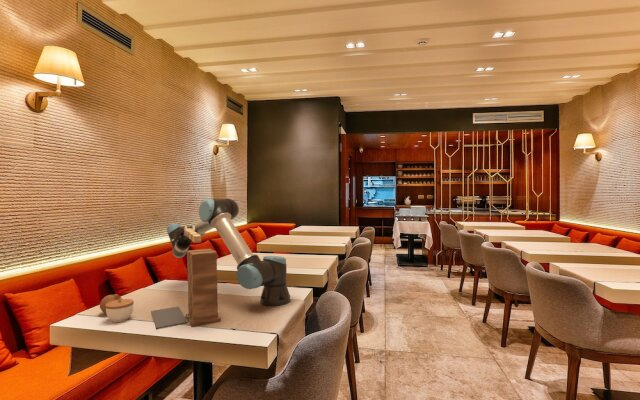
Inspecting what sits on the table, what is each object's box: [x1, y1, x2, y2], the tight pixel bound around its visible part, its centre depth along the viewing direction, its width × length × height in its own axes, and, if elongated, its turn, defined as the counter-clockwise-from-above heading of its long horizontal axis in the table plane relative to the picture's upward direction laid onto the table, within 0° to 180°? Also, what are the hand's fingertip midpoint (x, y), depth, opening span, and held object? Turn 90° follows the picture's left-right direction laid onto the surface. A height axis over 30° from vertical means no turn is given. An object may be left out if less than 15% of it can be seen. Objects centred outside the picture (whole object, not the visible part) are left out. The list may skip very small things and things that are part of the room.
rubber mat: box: [150, 305, 189, 330], centre depth 150 cm, size 24×12×1 cm, turn 32°
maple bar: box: [186, 228, 202, 243], centre depth 165 cm, size 26×3×3 cm, turn 32°
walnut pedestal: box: [185, 248, 222, 328], centre depth 147 cm, size 14×12×30 cm
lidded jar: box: [105, 298, 134, 323], centre depth 148 cm, size 11×11×9 cm
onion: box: [99, 293, 123, 315], centre depth 156 cm, size 10×9×10 cm
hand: (190, 228), depth 168 cm, fingers closed on maple bar, 3 cm apart
